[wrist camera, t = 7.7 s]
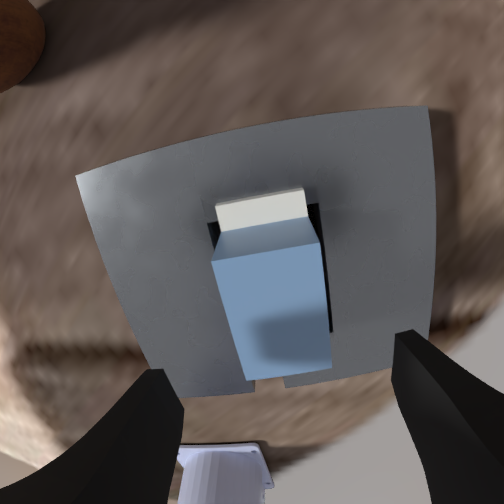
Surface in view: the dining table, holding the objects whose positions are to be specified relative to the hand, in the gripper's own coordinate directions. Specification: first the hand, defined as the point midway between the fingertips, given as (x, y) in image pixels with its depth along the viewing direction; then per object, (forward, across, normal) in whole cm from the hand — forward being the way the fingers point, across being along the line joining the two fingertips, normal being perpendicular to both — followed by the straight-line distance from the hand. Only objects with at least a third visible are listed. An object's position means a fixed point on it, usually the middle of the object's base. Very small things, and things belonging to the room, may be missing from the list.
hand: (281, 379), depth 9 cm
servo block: (+9, 0, 0) cm, 9 cm away
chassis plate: (+8, 0, 0) cm, 9 cm away
